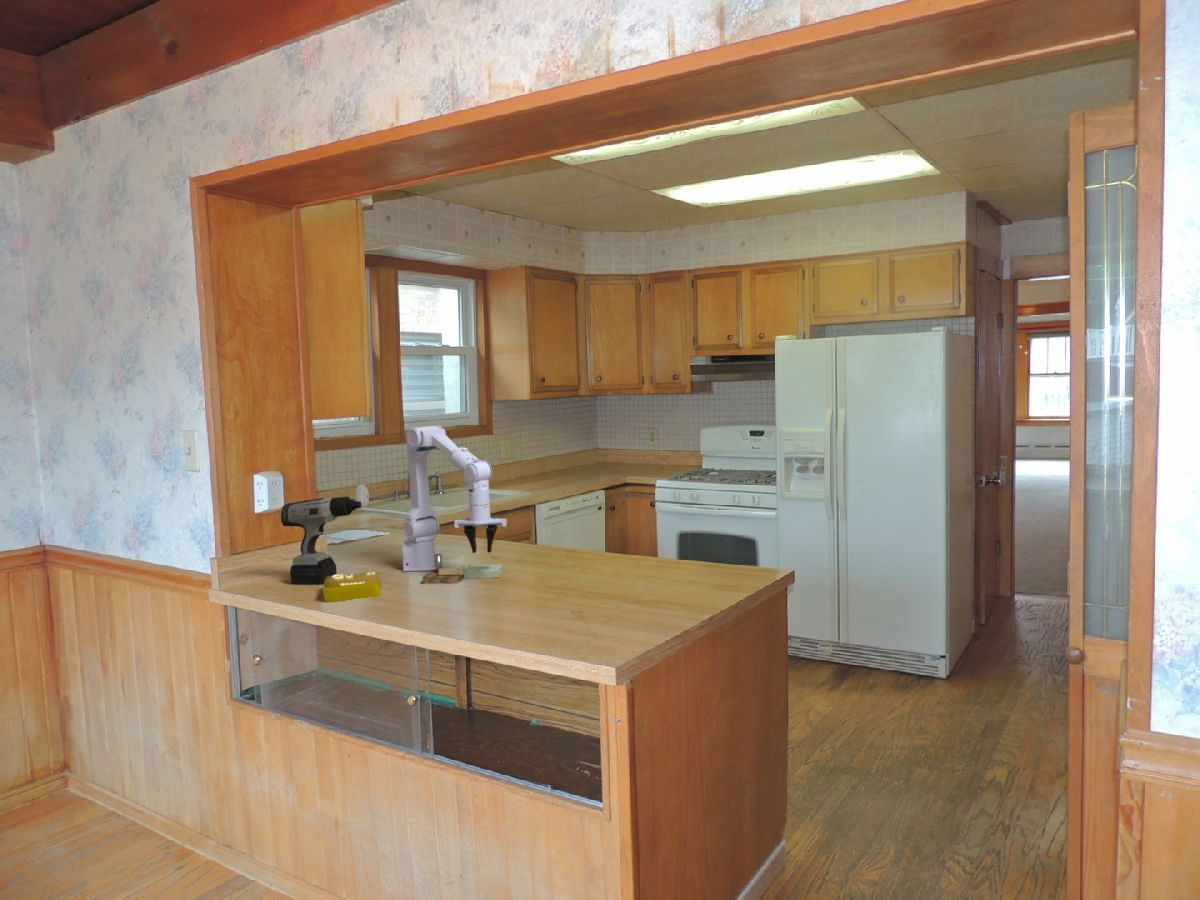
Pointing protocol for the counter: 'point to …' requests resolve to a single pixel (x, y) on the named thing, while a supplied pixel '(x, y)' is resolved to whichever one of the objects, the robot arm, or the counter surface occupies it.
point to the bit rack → (483, 571)
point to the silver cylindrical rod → (438, 562)
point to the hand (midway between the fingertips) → (482, 552)
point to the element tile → (352, 586)
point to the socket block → (441, 578)
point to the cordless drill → (314, 535)
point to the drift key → (452, 571)
